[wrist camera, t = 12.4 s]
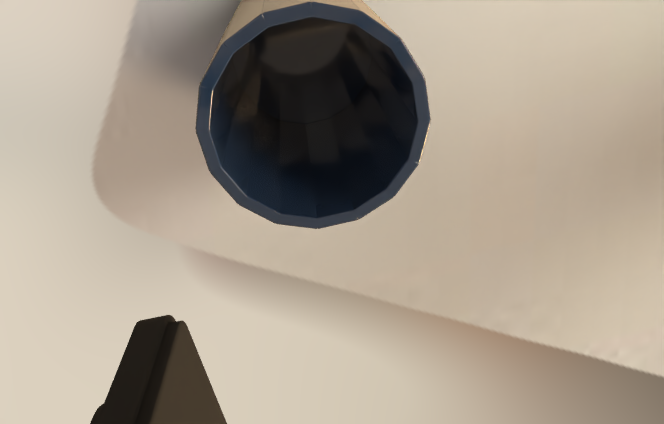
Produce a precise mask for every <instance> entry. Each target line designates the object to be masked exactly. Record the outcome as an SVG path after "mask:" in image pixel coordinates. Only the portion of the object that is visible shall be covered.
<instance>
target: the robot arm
mask: <svg viewBox="0 0 664 424" xmlns="http://www.w3.org/2000/svg"><path fill="white" fill-rule="evenodd" d="M90 424H227V423H226V420H225V418H224V416H223V413H222V411H221V408H220V406H219V403H218V401H217V398H216V396H215V394H214V391H213V389H212V386H211V384H210V381H209V379H208V376H207V374H206V371H205V369H204V366H203V364H202V361H201V359H200V357H199V354H198V352H197V349H196V347H195V344H194V342H193V339H192V337H191V335H190V332H189V330H188V327H187V325H186V323H185V322H184V321H178V322H176V321H175V319H174V318H173V317H172V316H171V315H166V316H161V317H156V318H151V319H146V320H141V321H139V322H137V323H136V325H135V327H134V330H133V332H132V335H131V337H130V340H129V342H128V345H127V347H126V350H125V352H124V355H123V357H122V360H121V362H120V365H119V367H118V370H117V372H116V375H115V378H114V380H113V382H112V385H111V387H110V390H109V393H108V395H107V398H106V400H105V403H104V404H102V405H101V406H100V407H99V408H98V409H97V411H96V412H95V414H94V416H93V418H92V421H91V423H90Z"/></svg>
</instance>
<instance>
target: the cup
mask: <svg viewBox="0 0 664 424" xmlns="http://www.w3.org/2000/svg"><path fill="white" fill-rule="evenodd" d="M430 120H431V119H430V111H429V104H428V96H427V89H426V82H425V78H424V75H423V73H422V72H421V70H420V68H419V67H418V65H417V63H416V62H415V60H414V59H413V57H412V55H411V54H410V52H409V50H408V49H407V47H406V45H405V44H404V42H403V41H402V39H401V38H400V37H399V36H398V35H397V34H396V33H395V32H394V31H393V30H392V29H391V28H390V27H389V26H388V25H387V24H386V23H385V22H384V21H383V20H382V19H381V18H380V17H379V16H378V15H377V14H376V13H375V12H374V11H373V10H372V9H371V8H370V7H369V6H368V5H367V4H366V3H365V2H364V1H362V0H241V2H240V4H239V6H238V8H237V9H236V11H235V13H234V15H233V17H232V19H231V20H230V22H229V24H228V26H227V28H226V30H225V32H224V34H223V36H222V38H221V40H220V42H219V44H218V47H217V49H216V51H215V53H214V55H213V57H212V59H211V61H210V63H209V65H208V67H207V70H206V72H205V74H204V76H203V78H202V80H201V82H200V85H199V92H198V104H197V117H196V134H197V137H198V140H199V142H200V145H201V148H202V151H203V154H204V157H205V160H206V163H207V166H208V169H209V171H210V173H211V174H212V175H213V176H214V178H215V179H216V180H217V181H218V182H219V183H220V184H221V185H222V187H223V188H224V189H225V190H226V191H227V192H228V193H229V195H230V196H231V197H232V198H233V199H234V200H235V201H236V202H237V203H238V204H239V205H240V206H242V207H244V208H246V209H248V210H250V211H252V212H254V213H256V214H258V215H260V216H262V217H264V218H266V219H267V220H269V221H271V222H273V223H276V224H281V225H289V226H297V227H306V228H314V229H317V228H318V229H320V228H324V227H329V226H333V225H337V224H342V223H346V222H351V221H355V220H358V219H360V218H362V217H364V216H365V215H367V214H368V213H370V212H371V211H373V210H375V209H376V208H378V207H379V206H381V205H382V204H384V203H385V202H387V201H389V200H390V199H392V198H393V196H395V195H396V194H397V192H398V191H399V190H400V188H401V187H402V186H403V184H404V183H405V182H406V180H407V179H408V178H409V176H410V175H411V174H412V172H413V171H414V170H415V168H416V167H417V166H418V164H419V162H420V159H421V156H422V152H423V148H424V145H425V141H426V137H427V134H428V130H429V126H430Z"/></svg>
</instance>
